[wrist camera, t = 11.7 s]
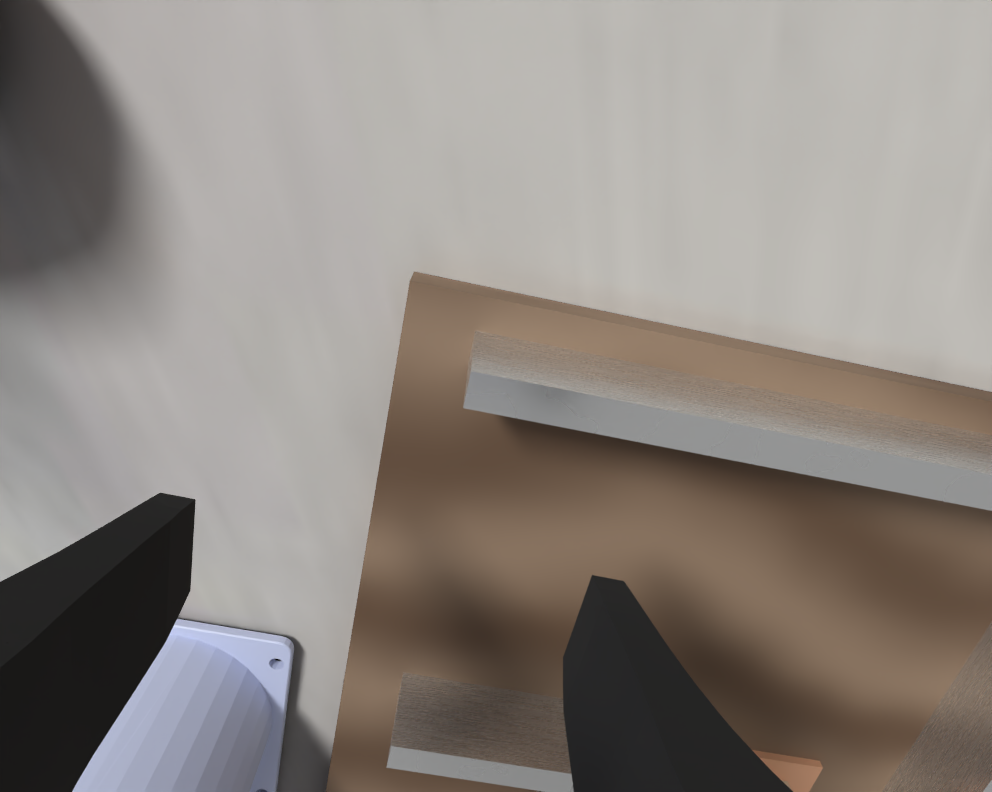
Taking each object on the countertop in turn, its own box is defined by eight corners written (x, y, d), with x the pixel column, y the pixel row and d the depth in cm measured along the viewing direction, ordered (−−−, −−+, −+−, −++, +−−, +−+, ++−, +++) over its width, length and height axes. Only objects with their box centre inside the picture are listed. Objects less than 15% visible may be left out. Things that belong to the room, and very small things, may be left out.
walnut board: (847, 897, 32) (857, 921, 31) (322, 820, 30) (316, 844, 29) (1164, 428, 22) (1193, 443, 21) (414, 271, 20) (410, 280, 19)
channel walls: (844, 889, 30) (878, 971, 27) (372, 819, 28) (358, 899, 25) (1128, 462, 21) (1221, 520, 18) (475, 330, 20) (470, 370, 17)
